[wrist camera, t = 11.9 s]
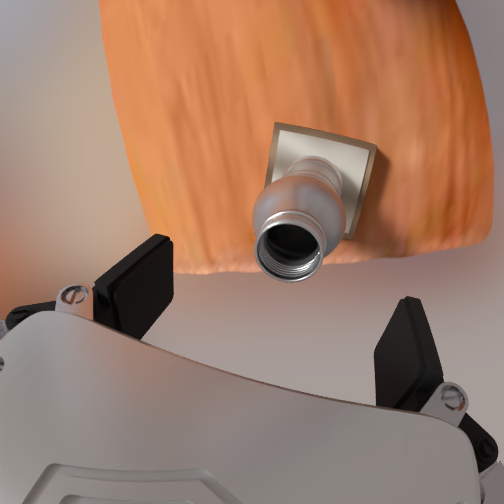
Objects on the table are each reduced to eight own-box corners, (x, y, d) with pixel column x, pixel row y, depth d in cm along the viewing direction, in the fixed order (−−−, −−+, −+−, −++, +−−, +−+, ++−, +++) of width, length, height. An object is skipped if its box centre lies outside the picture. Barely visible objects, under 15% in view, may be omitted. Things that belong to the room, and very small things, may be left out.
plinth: (279, 122, 34) (274, 122, 31) (373, 143, 32) (377, 145, 29) (264, 210, 39) (258, 218, 36) (351, 231, 37) (352, 241, 34)
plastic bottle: (344, 205, 33) (353, 304, 15) (287, 208, 35) (238, 303, 17) (339, 151, 30) (351, 188, 13) (281, 156, 32) (216, 198, 15)
